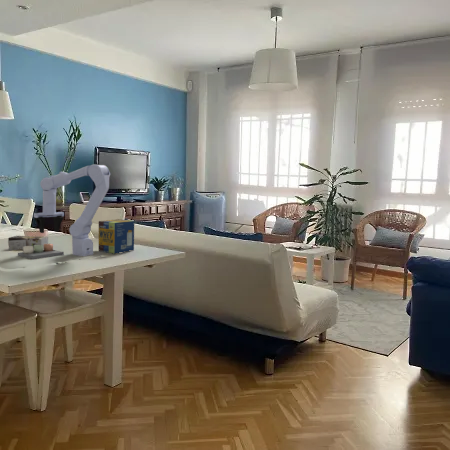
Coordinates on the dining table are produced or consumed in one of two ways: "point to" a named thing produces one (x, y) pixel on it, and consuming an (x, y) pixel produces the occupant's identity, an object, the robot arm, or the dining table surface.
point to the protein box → (116, 236)
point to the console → (41, 254)
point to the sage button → (38, 248)
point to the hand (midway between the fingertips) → (49, 232)
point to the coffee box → (26, 241)
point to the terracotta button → (48, 247)
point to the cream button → (28, 250)
